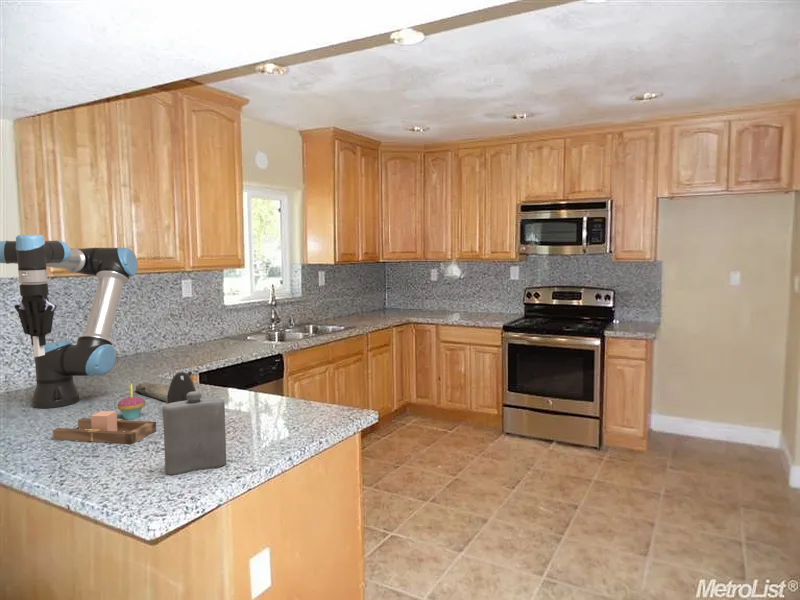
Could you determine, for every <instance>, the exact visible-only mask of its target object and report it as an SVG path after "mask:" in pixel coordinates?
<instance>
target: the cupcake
mask: <svg viewBox="0 0 800 600" xmlns="http://www.w3.org/2000/svg"><path fill="white" fill-rule="evenodd" d="M129 385H130V387H129V389H130V392H129V393H130V396H127V397H123V398H122V399H121V400H120V401H119V402H118V403H117V410H119V411H120V413H121V414H122V416H123V419H124V418H125V419H124V420H133V419H137V417H138V418H139V417H140V415H141V412H142V409H143V407H145V406H146V401H145V400H144V398H142V397H140V396H134V394H133V392H134V391H133V390H134V389H133V383H132V381H130V384H129Z"/></svg>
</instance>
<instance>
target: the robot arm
mask: <svg viewBox="0 0 800 600" xmlns="http://www.w3.org/2000/svg"><path fill="white" fill-rule="evenodd" d="M0 264H6V265H9V264H17V270H18V282H19V283H20V285H19V295H20V296H21V301H20V303H19V304H15V305H14V309H15V310H16V312H17V314H18V317H19V320H20V323H21V326H22V330H23V333H24V335H29V337H30V340H31V346H32V347H33V354H34V355H33V356H34V364H35V365H34V366H35V367H34V368H35V378H36V387H35V389H34V393H33V397H32V398H31V406H32V408H35V409H51V408H52V409H54V408H60V407H66V406H69V405H73V404H75V403H79V402H80V399H81V397H80V393H79V392H78V389H77V386H76V384H75V382H74V377H83V376H84V377H86V376H87V377H97V376H98V377H99V376H103V375H104V376H105V375H107V374H108V373H109V372H110V371H111V370H112V368H113V367H114V365H115V362H116V357H117V355H116V353H117V352H116V349H115V347H114V346H113V342H112V340H111V339H110V336H111V334H112V333H111V332H112V329H113V324H114V322H115V317H116V313H117V310H118V305H119V301H120V298H121V294H122V291H123V287H124V285H126V284H128V283H129V279H130V277H134V276H136V275H137V273H138V268H139V265H138V259H137V256H136V254H135V252H134V251H133V250H132V249H131V248H129V247H121V246H119V247H86V248H85V247H83V248H76V247H75V248H74V247H72V248H71V247H70V246H69V244H68V243H67V242H65V241H61V240H45V237H44V235H41V234H18V235H17V236H15V240H2V241H1V240H0ZM47 268H53V269H54V268H55V269H62V270H63V269H64V270H65V271H66V272H70V273H75V274H81V275H87V276H91V277H95V276H96V278H97V279H98V283H97V287H96V290H95V294H94V299H93V300H92V305H91V309H90V312H89V315H88V320H87V323H86V325H85V330H84V333H83V334H82V335H80V336H78V337H77V341H76V344H73V343H72V341H71V340H69V339H68V340H60V341H53V342H52V341H51V342H47V343H46V341H47V340H46V335H49V334H51V333H52V330H53V329H52V327H53V322H54V314H55V311H56V309H57V307H58V306H57V305H56V304H53V303H51V302H50V300H49V298H48V295H49V293H50V292H49V285H48V283H47V282H48V281H49V280H48V269H47Z"/></svg>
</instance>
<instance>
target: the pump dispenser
mask: <svg viewBox="0 0 800 600" xmlns="http://www.w3.org/2000/svg"><path fill="white" fill-rule="evenodd" d="M192 374H193V372H192V371H189V372H188V373H187V372H183V371H179V372H177V373H175V374H174V376H173V377H172V379H171V381H170V382H169V383H170V384H169V385H168V386H169V390H168V395H167V402H166V403H165V405H166V404H169V403H173V402H179V401H186V400H187V397H186V395H187V394H188V393H189V392H193V391H197V390H196V386H195V384H194V382H193V379H192V377H191V375H192Z"/></svg>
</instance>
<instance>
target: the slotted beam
mask: <svg viewBox="0 0 800 600" xmlns="http://www.w3.org/2000/svg"><path fill="white" fill-rule="evenodd" d="M78 428H80V429H78ZM85 429H92V428H91V417H90V418H87V417H85V418H84V417H82V418H79V419H78V420H77V428H63V427H58V428H55V429H53V430H52V436H53V438H52V439H55V440H54V441H64V440H78V441H77V442H82V441H92V442H91V443H100V442H107V443H106V444H117V443H120V444H121V445H133V444H135V443H137V442H138V441H141V440H143V439H144V438H147V437H148V436H150V435H151V434H153V433H155V432H157V421H148V420H147V421H146V420H132V419H121V418H117V431H104V430H100V429H92V430H85ZM123 431H125V432H123ZM140 439H141V440H140Z"/></svg>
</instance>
